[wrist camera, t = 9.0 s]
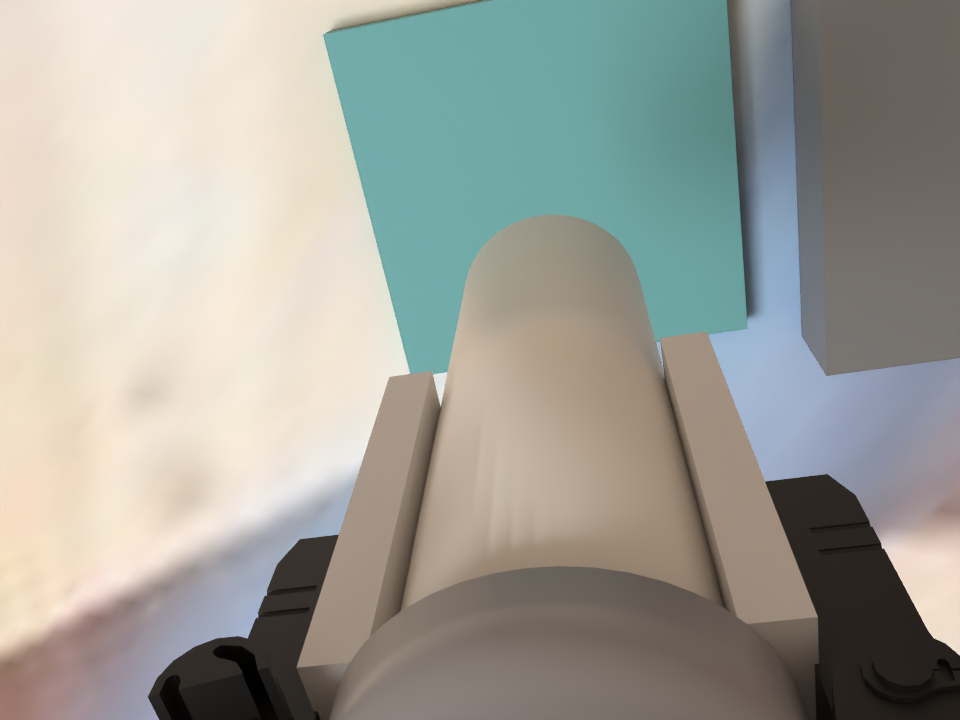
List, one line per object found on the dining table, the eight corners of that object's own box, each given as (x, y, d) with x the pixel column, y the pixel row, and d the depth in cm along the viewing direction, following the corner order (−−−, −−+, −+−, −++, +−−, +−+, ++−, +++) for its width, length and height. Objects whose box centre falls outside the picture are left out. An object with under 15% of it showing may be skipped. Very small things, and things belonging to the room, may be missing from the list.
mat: (742, 319, 31) (747, 328, 30) (414, 366, 33) (411, 377, 32) (718, -48, 26) (723, -47, 25) (328, 31, 27) (323, 34, 27)
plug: (673, 379, 21) (856, 1029, 9) (466, 407, 21) (372, 1044, 9) (650, 173, 18) (854, 667, 6) (420, 212, 19) (222, 723, 7)
